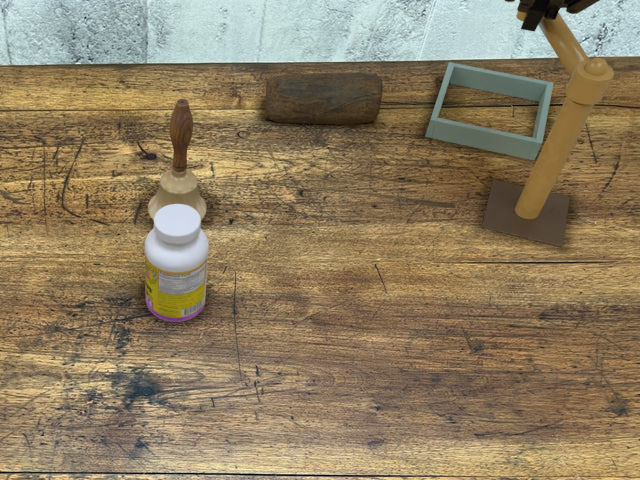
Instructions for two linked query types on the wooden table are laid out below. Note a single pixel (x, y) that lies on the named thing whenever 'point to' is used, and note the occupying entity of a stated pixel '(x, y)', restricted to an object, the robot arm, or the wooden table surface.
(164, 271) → the supplement bottle
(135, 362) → the wooden table surface
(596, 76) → the spout
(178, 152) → the hand bell
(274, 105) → the dark brown wooden log
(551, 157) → the tap mount
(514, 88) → the grey-green rectangular frame
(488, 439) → the wooden table surface
